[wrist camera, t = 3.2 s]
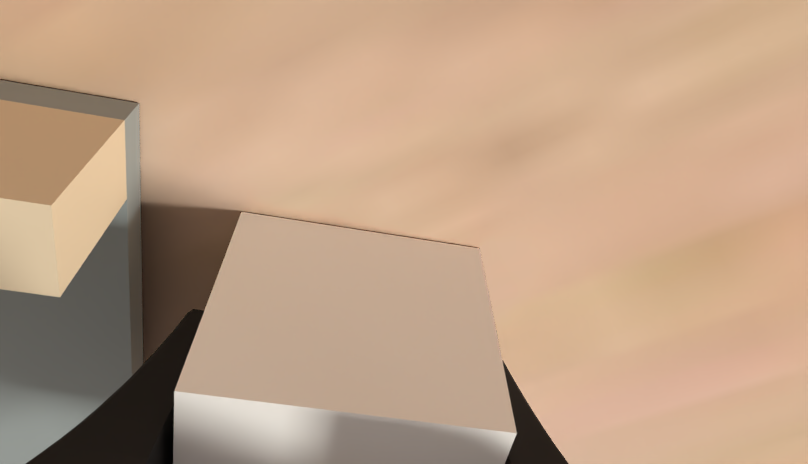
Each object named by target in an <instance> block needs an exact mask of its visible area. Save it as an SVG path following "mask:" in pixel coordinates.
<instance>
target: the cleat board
mask: <svg viewBox="0 0 808 464" xmlns="http://www.w3.org/2000/svg"><path fill="white" fill-rule="evenodd" d="M142 365H143V314H142V251H141V187H140V124H139V103H135V102H129V101H123V100H117V99H111V98H105V97H99V96H93V95H87V94H81V93H75V92H70V91H64V90H58V89H52V88H46V87H40V86H34V85H28V84H22V83H16V82H10V81H4V80H0V464H26V463H27V462H29V461H30V460H31V459H33V458H34V457H36V456H37V455H38V454H40V453H41V452H42V451H44V450H45V449H47V448H48V447H49V446H51V445H52V444H54V443H55V442H56V441H58V440H59V439H60V438H62V437H63V436H64V435H65V434H67V433H68V432H69V431H70V430H72V429H73V428H74V427H76V426H77V425H78V424H79V423H80V422H82V421H83V420H84V419H85V418H86V417H88V416H89V415H90V414H91V413H92V412H94V411H95V410H96V409H97V408H98V407H99V406H100V405H101V404H103V403H104V402H105V401H106V400H107V399H108V398H109V397H110V396H111V395H112V394H113V393H114V392H116V391H117V390H118V389H119V388H120V387H121V386H122V385H123V384H124V383H125V382H126V381H127V380H128V379H129V378H130V377H131V376H132V375H133V374H134V373H135V372H136V371H137V370H138V369H139V368H140V367H141V366H142Z"/></svg>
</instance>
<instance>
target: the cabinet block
mask: <svg viewBox="0 0 808 464" xmlns="http://www.w3.org/2000/svg"><path fill="white" fill-rule="evenodd" d="M516 434H517V431H516V426H515V421H514V416H513V411H512V406H511V401H510V396H509V391H508V386H507V381H506V376H505V371H504V366H503V361H502V356H501V351H500V346H499V341H498V336H497V331H496V326H495V321H494V316H493V311H492V306H491V301H490V296H489V291H488V286H487V281H486V276H485V271H484V266H483V261H482V256H481V251H480V248H474V247H467V246H461V245H454V244H448V243H441V242H435V241H428V240H422V239H415V238H409V237H402V236H396V235H389V234H383V233H376V232H370V231H363V230H357V229H350V228H344V227H337V226H331V225H324V224H318V223H311V222H305V221H298V220H292V219H285V218H279V217H272V216H266V215H259V214H253V213H246V212H241V214H240V217H239V220H238V222H237V225H236V228H235V230H234V233H233V236H232V238H231V241H230V244H229V246H228V249H227V252H226V254H225V257H224V260H223V262H222V265H221V268H220V270H219V273H218V276H217V278H216V281H215V284H214V286H213V289H212V292H211V294H210V297H209V300H208V302H207V305H206V308H205V310H204V313H203V316H202V318H201V321H200V324H199V326H198V329H197V332H196V334H195V337H194V340H193V342H192V345H191V348H190V350H189V353H188V356H187V359H186V361H185V364H184V367H183V369H182V372H181V375H180V377H179V380H178V383H177V385H176V388H175V391H174V436H173V464H505V462H506V459H507V457H508V454H509V452H510V449H511V447H512V444H513V442H514V439H515V437H516Z"/></svg>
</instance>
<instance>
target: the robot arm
mask: <svg viewBox="0 0 808 464" xmlns="http://www.w3.org/2000/svg"><path fill="white" fill-rule="evenodd" d="M203 313H204V311H202V310H195V309H193V310H192V311H190V312H188V313H187V314H186V316H185V317H184V318H183V320H182V321H181V322H180V323H179V325H178V326H177V327H176V328H175V330H174V331H173V332H172V333H171V334H170V336H169V337H168V338H167V339H166V340H165V341H164V342H163V344H162V345H161V346H160V347H159V348H158V349H157V350H156V351H155V352H154V354H153V355H152V356H151V357H150V358H149V359H148V360H147V361H146V362H145V363H144V364H143V365H142V366H141V367H140V368H139V369H138V370H137V371H136V372H135V373H134V374H133V375H132V376H131V377H130V378H129V379H128V380H127V381H126V382H125V383H124V384H123V385H122V386H121V387H120V388H119V389H118V390H117V391H116V392H114V393H113V394H112V395H111V396H110V397H109V398H108V399H107V400H106V401H105V402H104V403H103V404H101V405H100V406H99V407H98V408H97V409H96V410H95V411H94V412H92V413H91V414H90V415H89V416H88V417H86V418H85V419H84V420H83V421H82V422H80V423H79V424H78V425H77V426H76V427H74V428H73V429H72V430H70V431H69V432H68V433H67V434H65V435H64V436H63V437H62V438H60V439H59V440H58V441H56V442H55V443H54V444H52V445H51V446H49V447H48V448H47V449H45V450H44V451H42V452H41V453H40V454H38V455H37V456H36V457H34V458H33V459H31V460H30V461H29V462H27V463H26V464H173V436H174V391H175V388H176V385H177V383H178V380H179V377H180V375H181V372H182V369H183V367H184V364H185V361H186V359H187V356H188V353H189V350H190V348H191V345H192V342H193V340H194V337H195V334H196V332H197V329H198V326H199V324H200V321H201V318H202V316H203ZM502 361H503V360H502ZM503 366H504V371H505V376H506V381H507V386H508V391H509V396H510V401H511V406H512V411H513V416H514V421H515V426H516V431H517V434H516V437H515V439H514V442H513V444H512V447H511V449H510V452H509V454H508V457H507V459H506V462H505V464H568V462H567V461H566V460H565V458H564V457H563V455H562V454H561V453H560V451H559V450H558V449H557V447H556V446H555V444H554V443H553V441H552V440H551V438H550V437H549V436H548V434H547V432H546V431H545V429H544V428H543V426H542V425H541V423H540V422H539V420H538V419H537V417H536V416H535V414H534V412H533V411H532V409H531V408H530V406H529V404H528V403H527V401H526V400H525V398H524V396H523V395H522V393H521V391H520V389H519V388H518V386H517V384H516V383H515V381H514V379H513V377H512V376H511V374H510V372H509V370H508V369H507V367H506V365H505V363H504V362H503Z"/></svg>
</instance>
